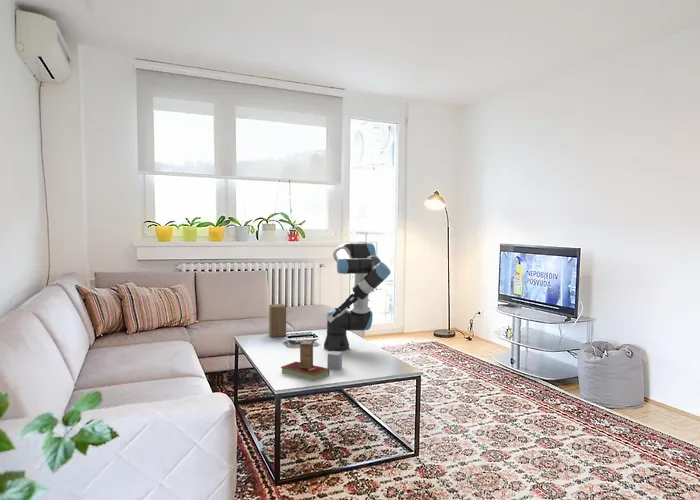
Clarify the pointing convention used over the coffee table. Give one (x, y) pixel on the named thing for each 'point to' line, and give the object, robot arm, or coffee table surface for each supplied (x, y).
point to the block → (277, 320)
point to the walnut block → (306, 354)
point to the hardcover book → (305, 371)
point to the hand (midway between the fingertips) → (332, 317)
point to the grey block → (334, 360)
